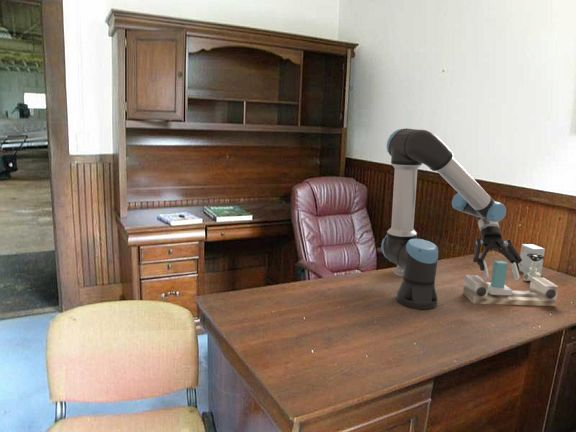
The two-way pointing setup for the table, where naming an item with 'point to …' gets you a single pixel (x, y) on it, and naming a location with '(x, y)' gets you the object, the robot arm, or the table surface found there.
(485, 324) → the table surface
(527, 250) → the small box
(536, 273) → the valve
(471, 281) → the rail board
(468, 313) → the table surface
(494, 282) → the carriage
